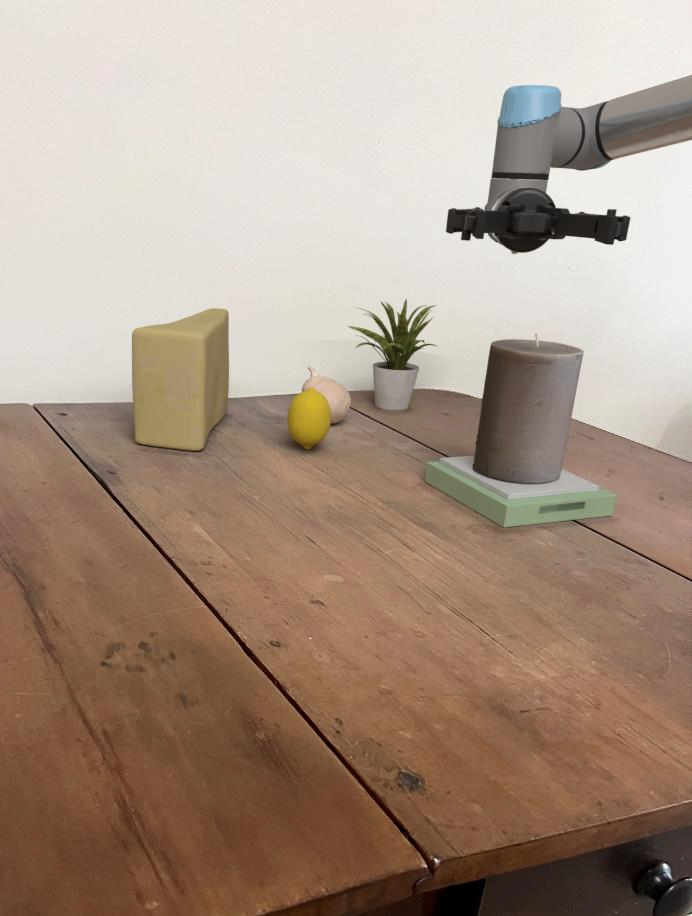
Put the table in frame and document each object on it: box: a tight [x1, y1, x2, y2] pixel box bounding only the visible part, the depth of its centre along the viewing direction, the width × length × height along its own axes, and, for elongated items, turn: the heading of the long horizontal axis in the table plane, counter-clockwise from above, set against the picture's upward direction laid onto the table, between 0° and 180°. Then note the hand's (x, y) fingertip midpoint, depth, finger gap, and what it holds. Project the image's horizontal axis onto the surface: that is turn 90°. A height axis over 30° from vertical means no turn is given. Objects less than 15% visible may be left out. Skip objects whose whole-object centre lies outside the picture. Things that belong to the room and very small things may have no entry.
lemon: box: [286, 388, 332, 450], centre depth 117 cm, size 6×6×8 cm
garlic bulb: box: [301, 364, 352, 424], centre depth 130 cm, size 7×6×8 cm
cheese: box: [131, 307, 230, 452], centre depth 123 cm, size 22×10×15 cm, turn 162°
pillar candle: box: [472, 332, 585, 483], centre depth 100 cm, size 10×10×15 cm
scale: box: [424, 455, 618, 528], centre depth 103 cm, size 16×14×3 cm
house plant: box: [347, 298, 439, 411], centre depth 140 cm, size 14×14×16 cm
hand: (546, 228), depth 98 cm, fingers open, 13 cm apart
